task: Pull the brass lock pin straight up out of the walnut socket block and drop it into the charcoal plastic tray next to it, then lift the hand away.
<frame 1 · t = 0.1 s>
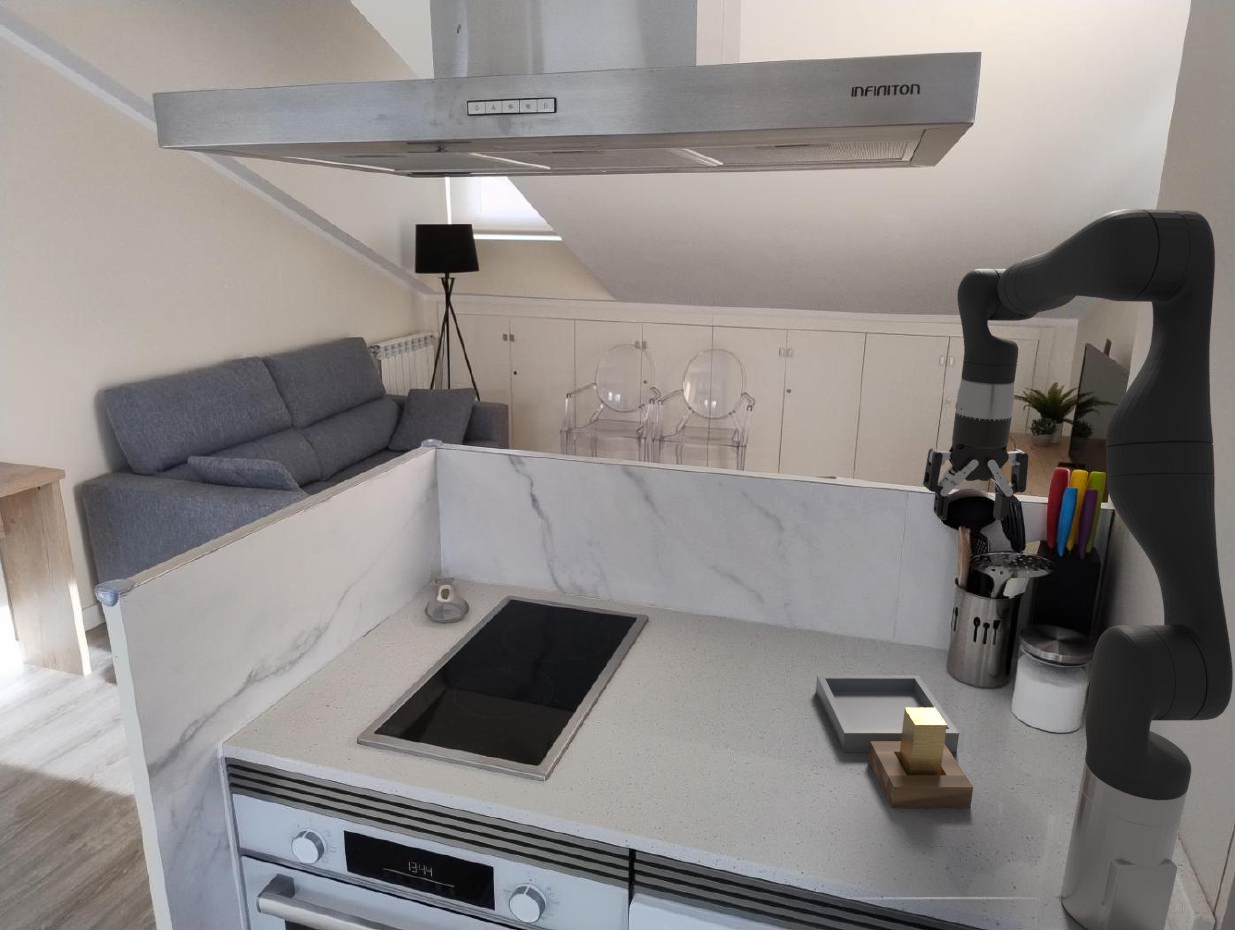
hand: (969, 518, 130), 29 cm above the worktop, tool pointing down, fingers open, 8 cm apart
socket block: (917, 783, 115), on the worktop
parts tray: (882, 720, 130), on the worktop
lock pin: (921, 750, 114), in the socket block
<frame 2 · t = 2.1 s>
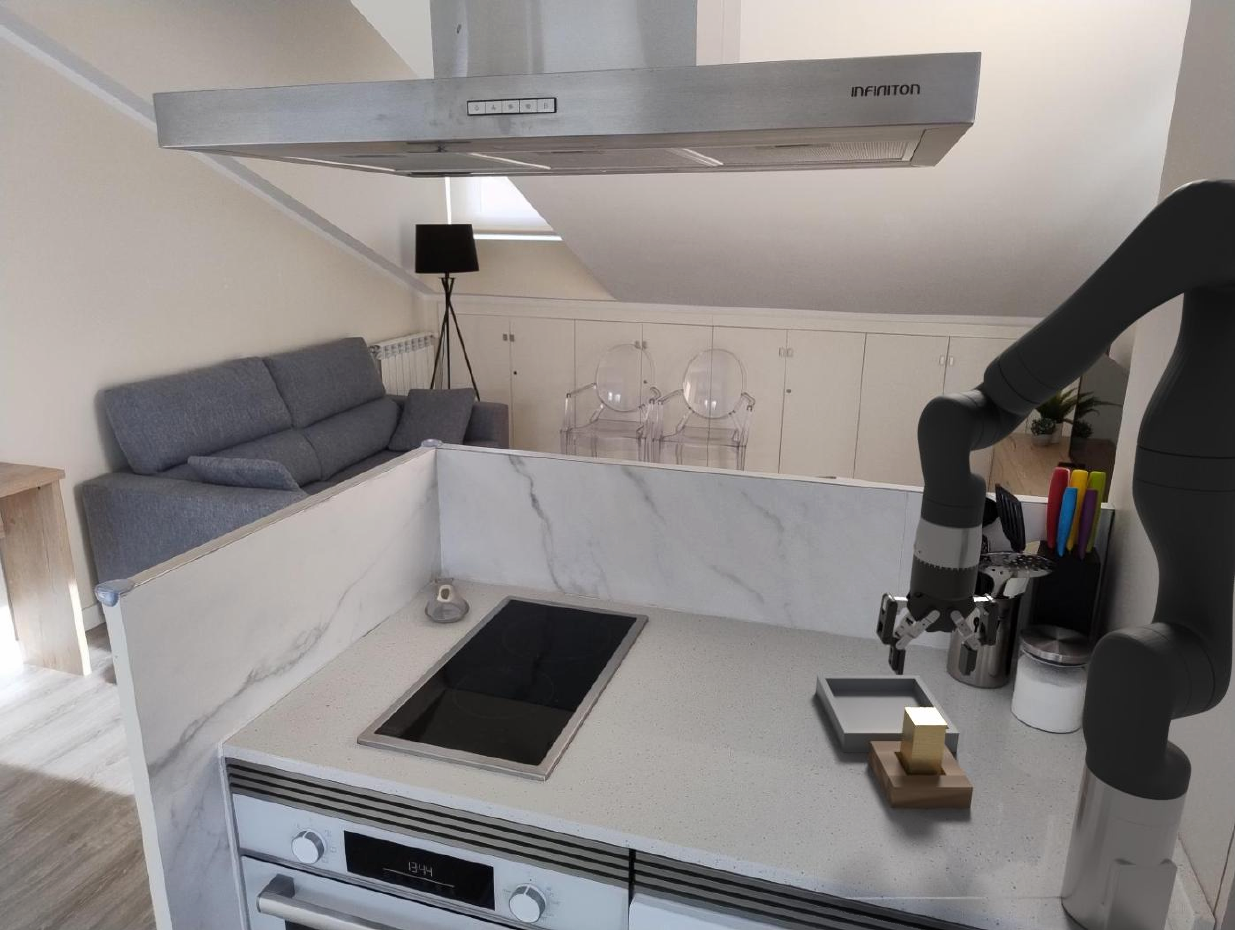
hand: (930, 672, 111), 16 cm above the worktop, tool pointing down, fingers open, 8 cm apart
nothing on the worktop moved.
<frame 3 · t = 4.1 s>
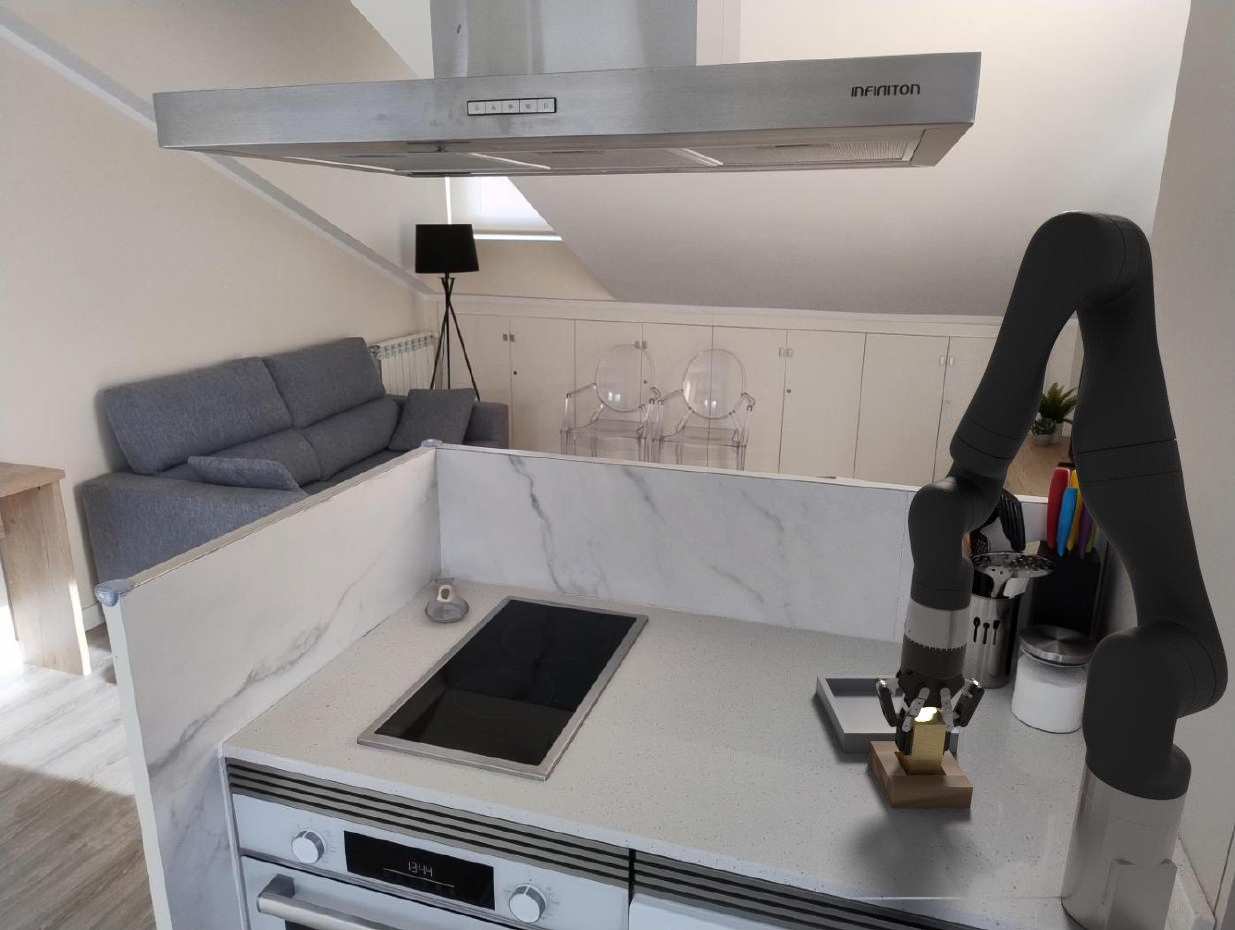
hand: (921, 751, 114), 5 cm above the worktop, tool pointing down, fingers closed on lock pin, 4 cm apart
lock pin: (921, 749, 114), in the socket block, touching gripper
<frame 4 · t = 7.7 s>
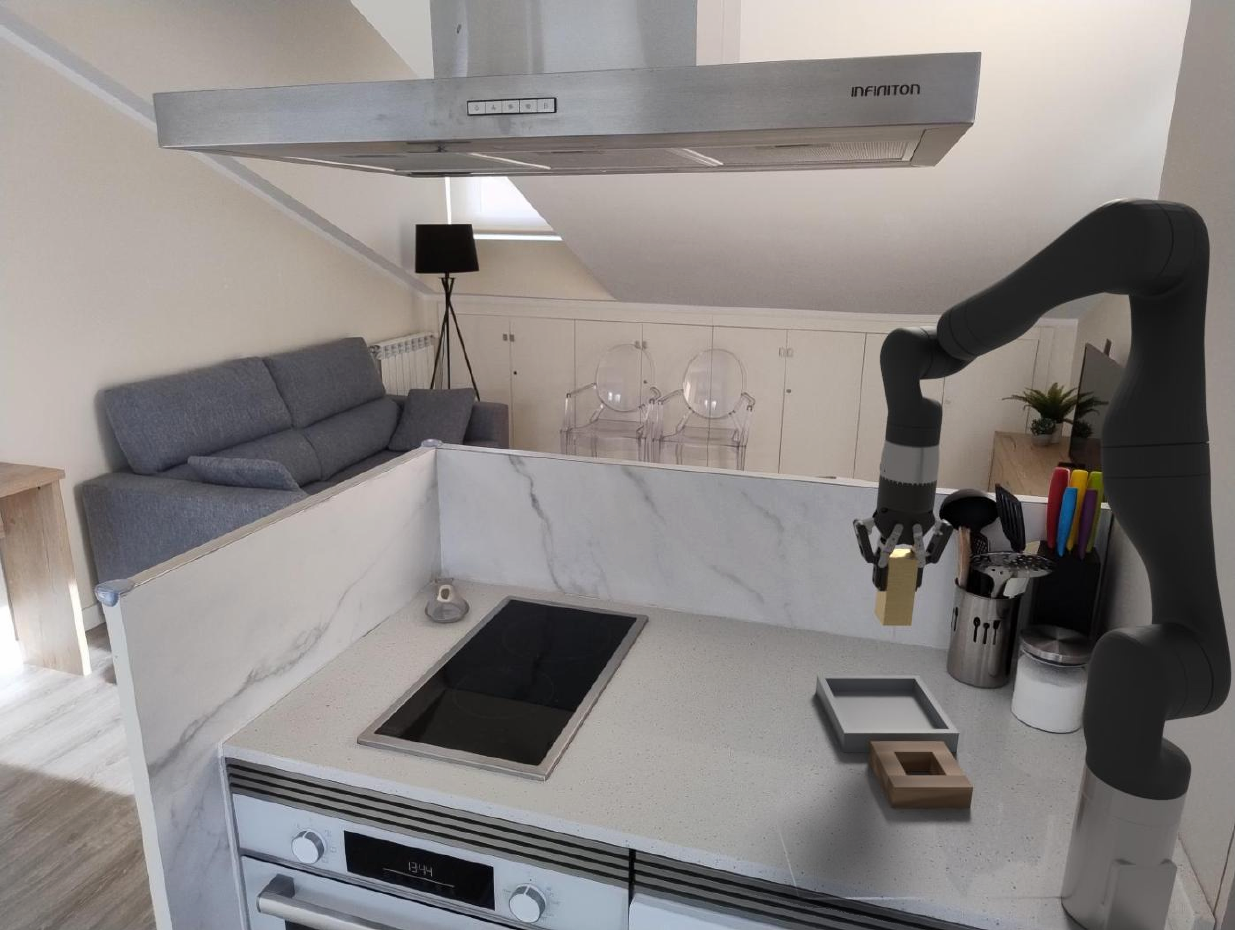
hand: (896, 588, 124), 21 cm above the worktop, tool pointing down, fingers closed on lock pin, 4 cm apart
lock pin: (896, 587, 124), point 21 cm above the worktop, touching gripper
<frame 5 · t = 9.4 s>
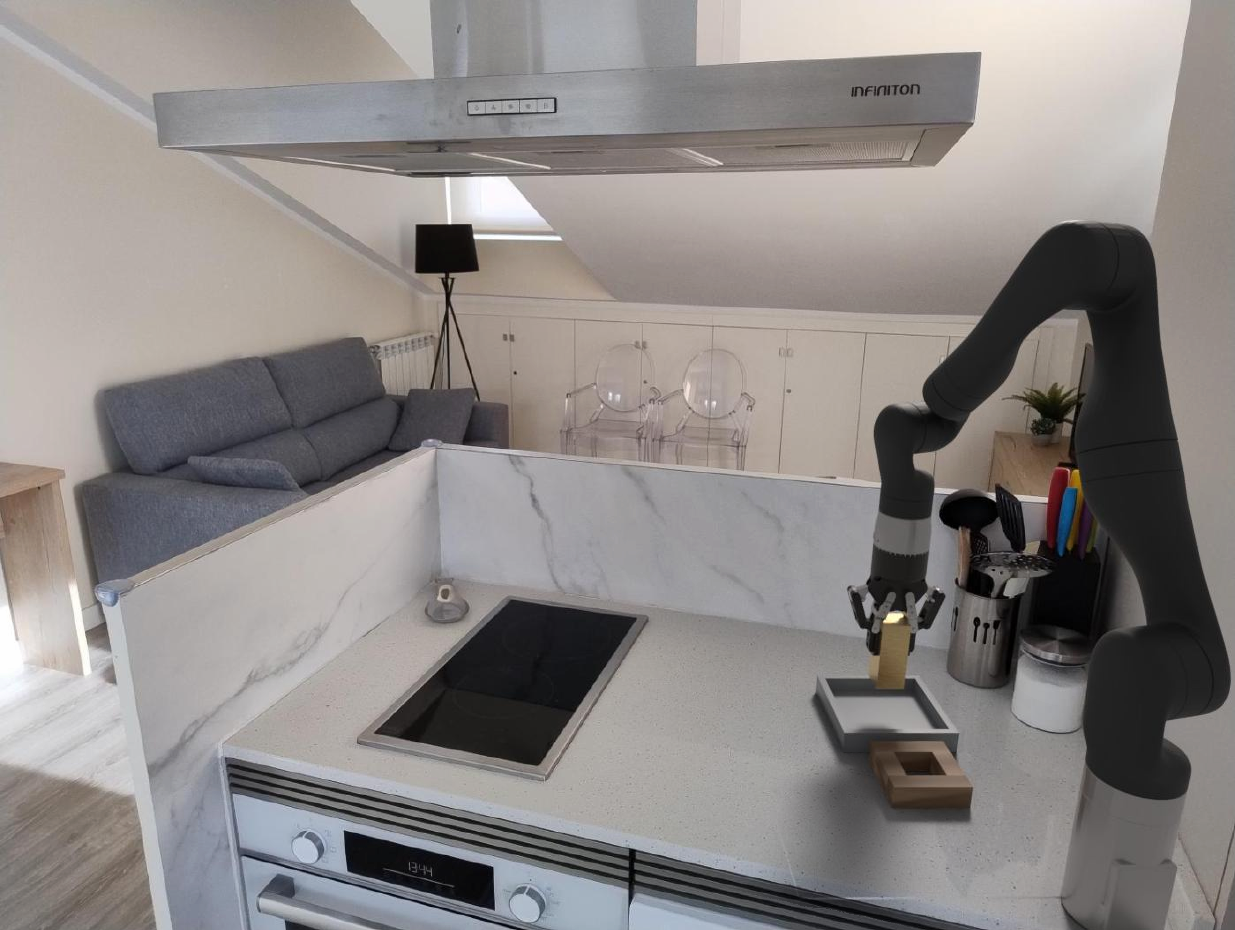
hand: (889, 652, 127), 11 cm above the worktop, tool pointing down, fingers closed on lock pin, 4 cm apart
lock pin: (889, 651, 127), point 11 cm above the worktop, touching gripper
when the fingers open (7 cm above the worktop, at t = 11.1 s): lock pin drops 1 cm, resting on parts tray.
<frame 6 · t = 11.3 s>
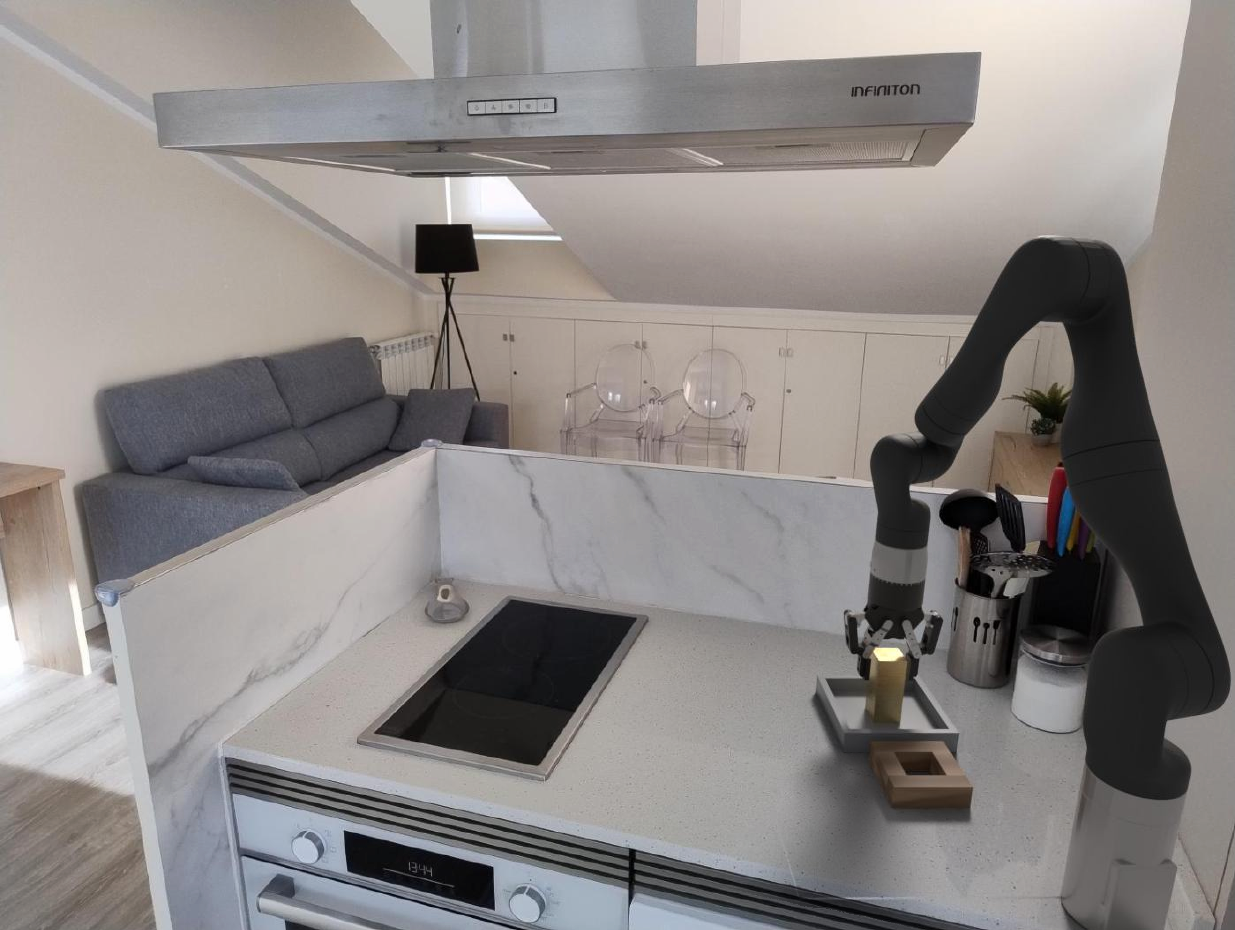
hand: (886, 677, 128), 7 cm above the worktop, tool pointing down, fingers open, 6 cm apart
lock pin: (885, 685, 128), in the parts tray, point 6 cm above the worktop
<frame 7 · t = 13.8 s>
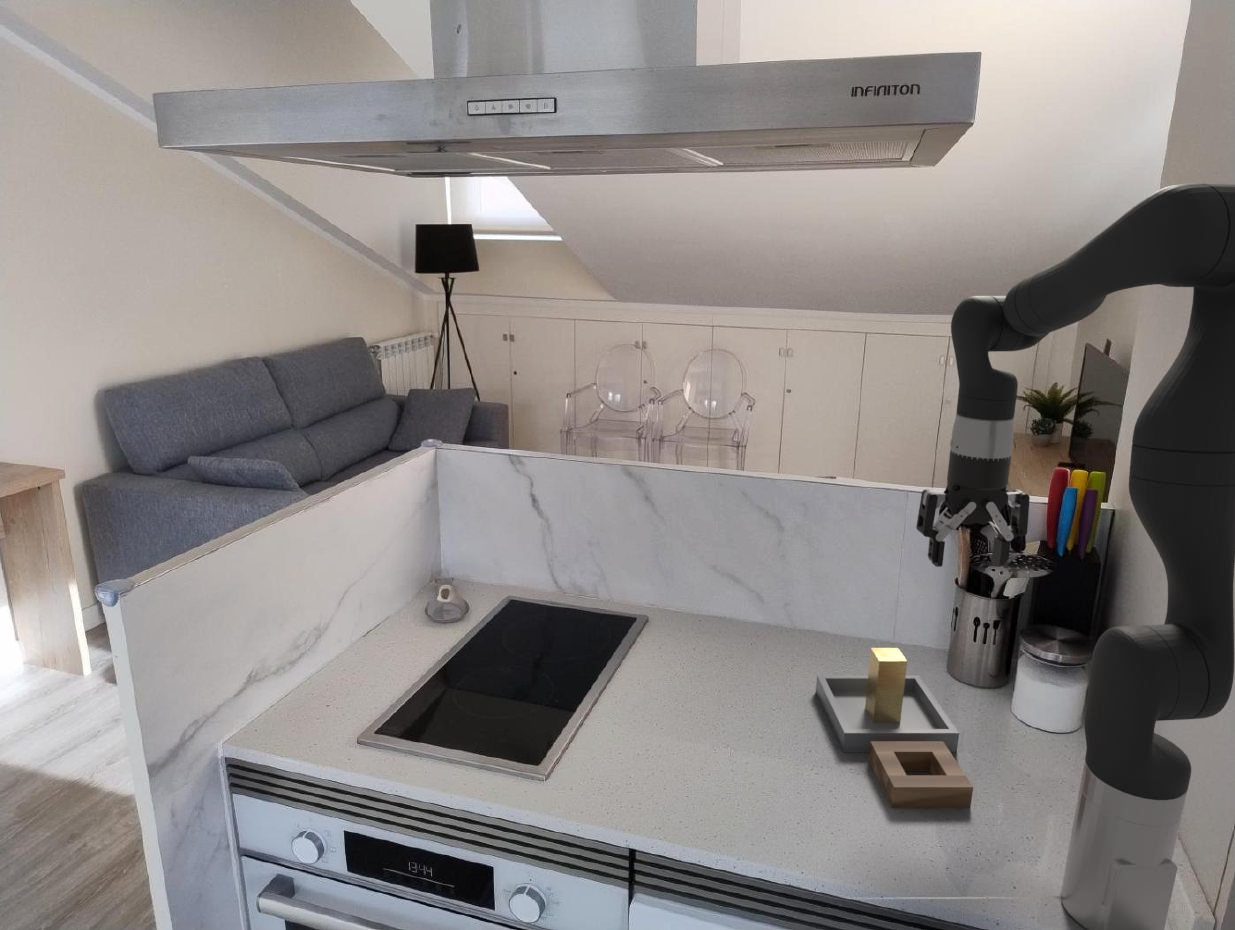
hand: (967, 564, 120), 26 cm above the worktop, tool pointing down, fingers open, 8 cm apart
nothing on the worktop moved.
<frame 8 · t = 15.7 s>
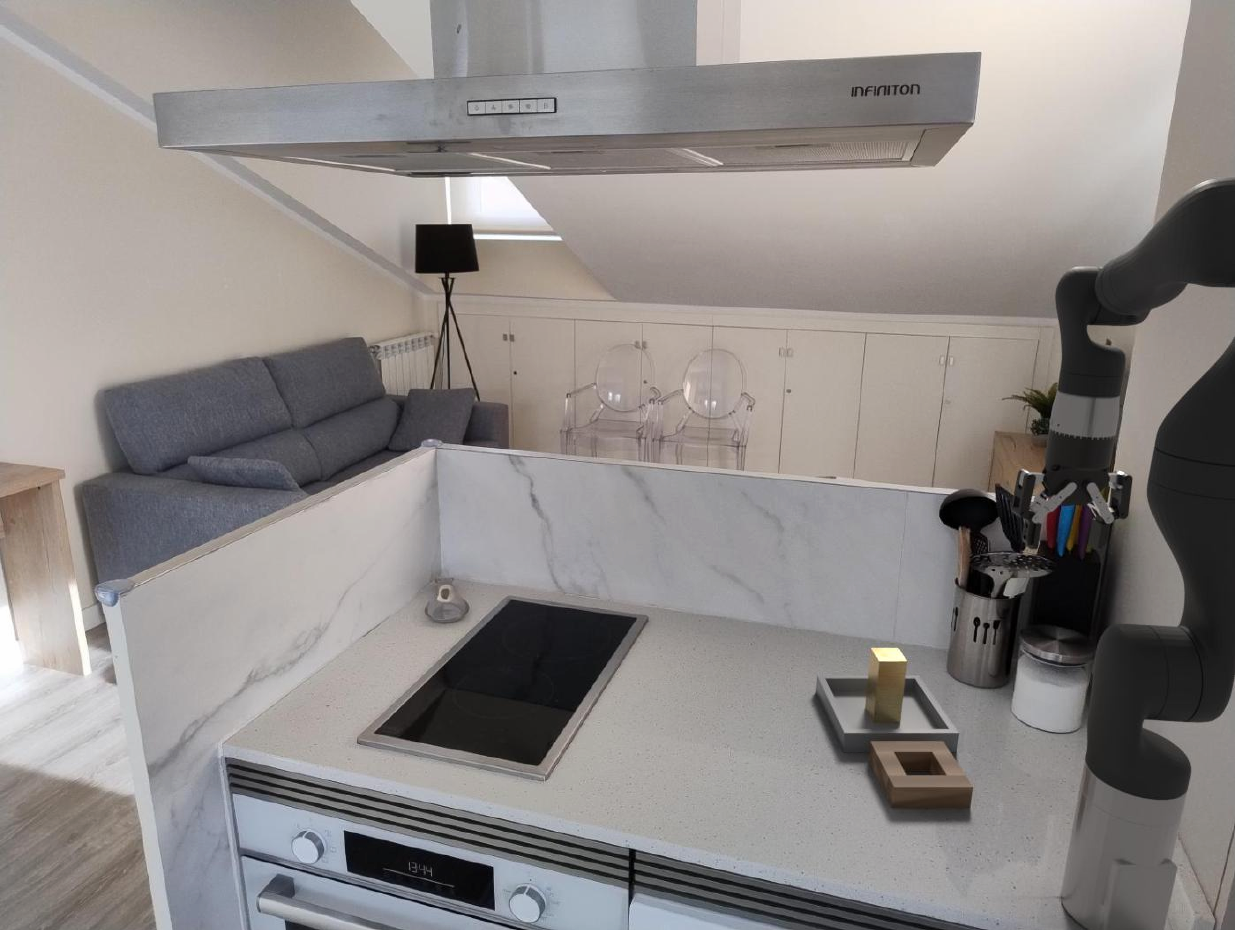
hand: (1063, 547, 115), 30 cm above the worktop, tool pointing down, fingers open, 8 cm apart
nothing on the worktop moved.
at the end: lock pin inside the target area on the parts tray (0.0 cm from its centre), point 5.8 cm above the parts tray's base; the gripper is holding nothing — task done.
